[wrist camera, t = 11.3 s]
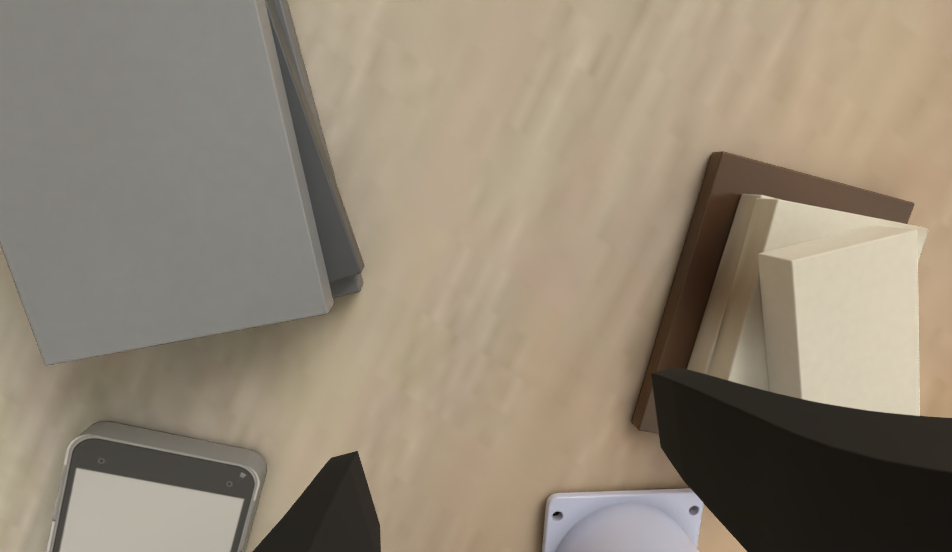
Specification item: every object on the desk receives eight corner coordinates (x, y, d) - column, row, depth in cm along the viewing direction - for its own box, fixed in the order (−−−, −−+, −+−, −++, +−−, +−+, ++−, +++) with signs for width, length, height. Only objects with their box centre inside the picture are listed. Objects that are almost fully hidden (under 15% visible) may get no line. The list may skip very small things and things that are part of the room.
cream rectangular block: (879, 406, 21) (920, 426, 20) (772, 435, 21) (805, 459, 19) (872, 225, 20) (918, 229, 18) (756, 253, 19) (791, 260, 17)
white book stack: (808, 450, 25) (867, 491, 22) (630, 422, 24) (666, 462, 20) (898, 202, 23) (979, 206, 20) (711, 152, 22) (765, 147, 18)
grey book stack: (373, 282, 21) (364, 307, 17) (124, 340, 20) (51, 382, 16) (281, -66, 18) (243, -138, 14) (-14, -15, 17) (-147, -76, 13)
